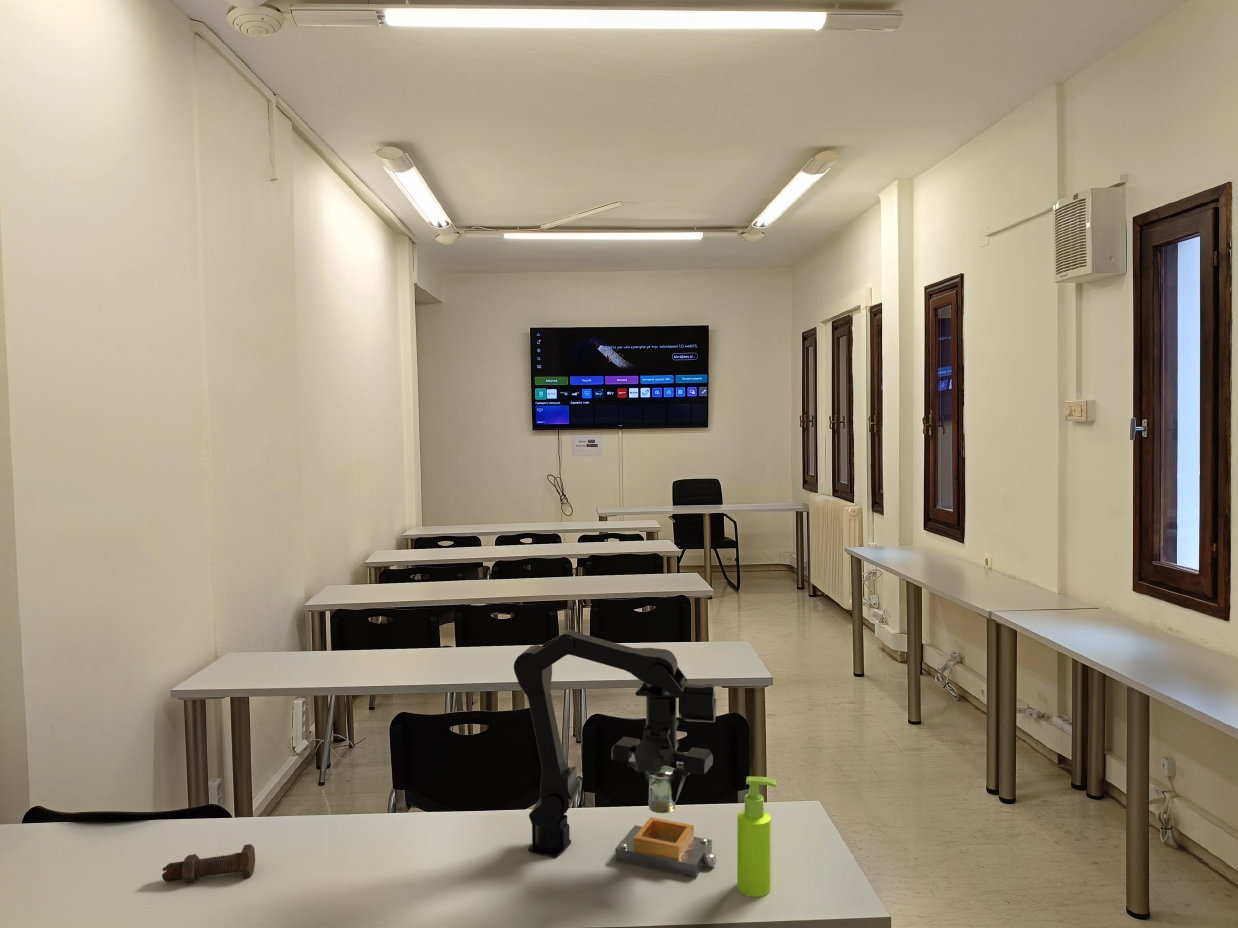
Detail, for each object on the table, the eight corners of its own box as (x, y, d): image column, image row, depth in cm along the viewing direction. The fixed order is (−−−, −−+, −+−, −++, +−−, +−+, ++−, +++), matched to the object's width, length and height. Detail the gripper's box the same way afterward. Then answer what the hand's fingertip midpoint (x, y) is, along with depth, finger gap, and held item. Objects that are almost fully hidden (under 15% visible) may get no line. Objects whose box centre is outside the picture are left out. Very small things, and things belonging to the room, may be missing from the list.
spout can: (638, 816, 157) (638, 779, 157) (654, 799, 165) (653, 763, 164) (664, 821, 155) (664, 784, 155) (679, 803, 163) (679, 767, 162)
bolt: (166, 890, 155) (254, 878, 158) (158, 890, 151) (248, 877, 154) (169, 856, 158) (255, 844, 161) (161, 854, 153) (250, 842, 156)
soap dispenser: (776, 899, 148) (776, 786, 147) (736, 894, 149) (736, 783, 148) (776, 881, 154) (777, 773, 153) (738, 877, 155) (738, 770, 154)
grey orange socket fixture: (615, 860, 161) (615, 835, 161) (634, 837, 170) (634, 812, 170) (706, 880, 154) (706, 853, 154) (721, 854, 163) (721, 829, 163)
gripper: (598, 725, 157) (599, 808, 158) (694, 739, 149) (694, 826, 150) (622, 707, 167) (623, 784, 168) (713, 719, 160) (713, 800, 160)
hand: (662, 798), depth 161 cm, fingers closed on spout can, 5 cm apart
